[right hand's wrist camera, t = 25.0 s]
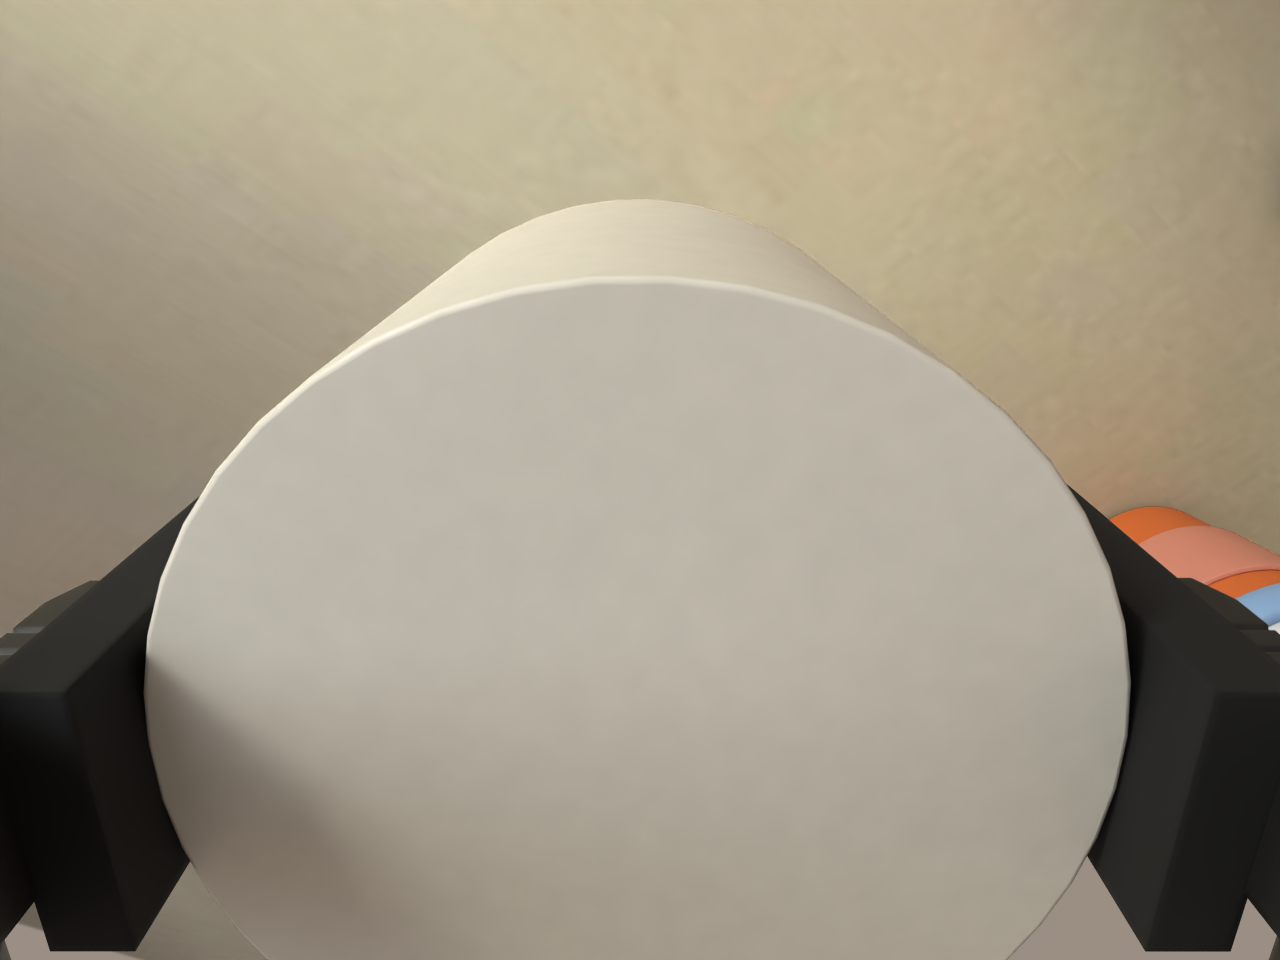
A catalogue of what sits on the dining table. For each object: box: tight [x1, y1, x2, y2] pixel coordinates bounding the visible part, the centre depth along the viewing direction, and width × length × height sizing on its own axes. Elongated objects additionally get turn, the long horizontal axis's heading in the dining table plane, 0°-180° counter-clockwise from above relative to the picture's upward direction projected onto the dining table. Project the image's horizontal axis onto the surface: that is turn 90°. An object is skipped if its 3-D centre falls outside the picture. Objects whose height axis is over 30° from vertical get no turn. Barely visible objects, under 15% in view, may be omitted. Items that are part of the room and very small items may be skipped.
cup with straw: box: [1109, 507, 1280, 634], centre depth 32 cm, size 9×9×18 cm
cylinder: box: [144, 199, 1131, 960], centre depth 12 cm, size 9×9×7 cm
